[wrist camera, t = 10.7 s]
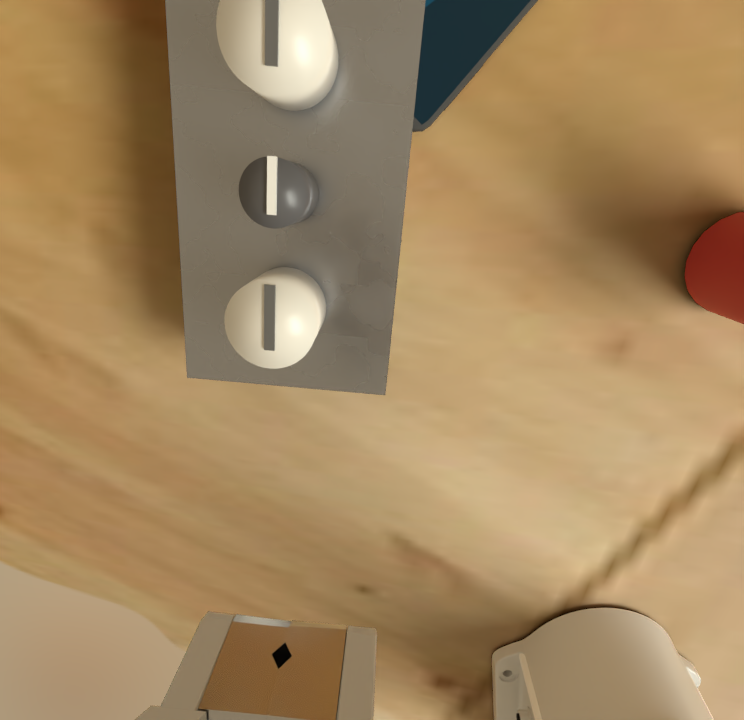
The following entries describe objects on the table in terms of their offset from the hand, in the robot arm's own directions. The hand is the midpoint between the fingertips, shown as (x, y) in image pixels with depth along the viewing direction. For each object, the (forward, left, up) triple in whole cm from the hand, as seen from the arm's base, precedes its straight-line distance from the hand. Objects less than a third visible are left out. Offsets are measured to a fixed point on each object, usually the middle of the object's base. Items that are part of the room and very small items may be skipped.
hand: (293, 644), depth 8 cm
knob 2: (+1, +4, -24) cm, 24 cm away
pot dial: (+7, +4, -20) cm, 21 cm away
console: (+7, +4, -26) cm, 27 cm away
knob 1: (+13, +4, -24) cm, 27 cm away
